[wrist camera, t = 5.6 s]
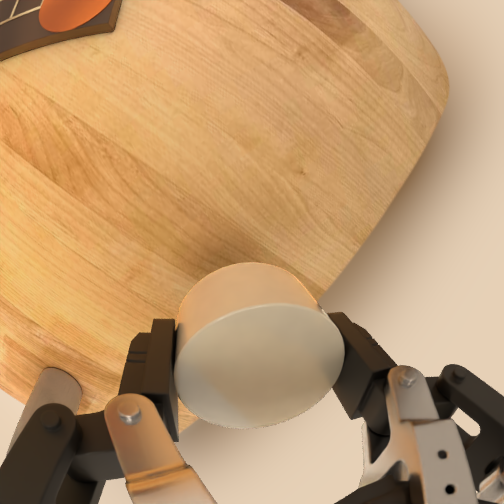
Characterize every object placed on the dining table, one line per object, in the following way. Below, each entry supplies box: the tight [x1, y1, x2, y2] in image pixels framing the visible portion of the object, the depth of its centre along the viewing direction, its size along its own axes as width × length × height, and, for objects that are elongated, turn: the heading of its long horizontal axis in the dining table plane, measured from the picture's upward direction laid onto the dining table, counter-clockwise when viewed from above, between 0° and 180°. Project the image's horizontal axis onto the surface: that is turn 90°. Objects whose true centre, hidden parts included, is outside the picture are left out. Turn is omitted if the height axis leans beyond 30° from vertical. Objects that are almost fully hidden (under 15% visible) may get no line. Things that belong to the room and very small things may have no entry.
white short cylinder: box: [173, 262, 345, 429], centre depth 9 cm, size 5×5×3 cm
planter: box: [7, 368, 82, 455], centre depth 15 cm, size 4×4×10 cm
